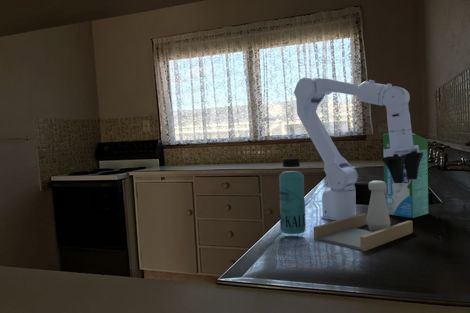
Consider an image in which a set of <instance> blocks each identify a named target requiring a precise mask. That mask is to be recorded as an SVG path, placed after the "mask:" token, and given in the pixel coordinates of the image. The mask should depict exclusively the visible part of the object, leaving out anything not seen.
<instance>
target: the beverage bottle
mask: <svg viewBox="0 0 470 313" xmlns="http://www.w3.org/2000/svg"><path fill="white" fill-rule="evenodd" d="M300 165H301V164H300V159H299V158H297V157H287V158H283V161H282V167H283V168H297V167H298V168H299V167H300ZM278 180H279V184H278V185H279V190H278V194H279V229H280V232H281V233H283V234H286V235H298V234H303V233H305V232H306V226H307V225H306V221H307V219H306V201H305V176H304V174H303V173H302V172H301V171H299V170H289V171H288V170H287V171H286V170H285V171H282V172H281V173H280V174H279V176H278Z"/></svg>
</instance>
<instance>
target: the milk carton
mask: <svg viewBox="0 0 470 313" xmlns="http://www.w3.org/2000/svg"><path fill="white" fill-rule="evenodd" d="M382 136H383V137H382V140H383V143H382V144H383V147H382V148H383V151H384V150H385V149H390V140H389V133H383V135H382ZM412 138H413V146H414V145H419V152H417V153H423V156H422V158H421V161H420V164H419V168H418V175H417V179H412V180H409V179H408V177H407V173H406V168H405V165H404V166H403V183H394V181H393V179H392V176H391V174H390V171H389V169H388V167H387V166H386V164H385V163H384V162H383V180H384V182H385V183H386V186H387V187H386V190H384V193H385V198H386V203H387V208H388V213H389V216H391V215H392V216H395V217H396V216H397V217H403V218H407V219H408V218H409V219H413V218H417V217H421V216H422V217H423V216H424V215H428V214H429V164H428V163H429V161H428V159H429V157H428V155H429V152H428V147H429V146H428V139H427V138H425V137H423V136H419V135H417V134H415V133H413V132H412ZM402 152H407V151H402ZM402 152H398V153H402ZM402 155H406V154H402ZM398 156H399V157H400V155H398ZM383 157H385V154H384V153H383Z"/></svg>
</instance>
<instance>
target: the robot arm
mask: <svg viewBox="0 0 470 313" xmlns="http://www.w3.org/2000/svg"><path fill="white" fill-rule="evenodd" d="M332 93H339V94H346V95H351V96H356V98H357V99H358V101H360V102H361V103H366V104H367V103H368V104H372V105H375V106H376V105H377V106H382V107H383V106H385V108H386V120H387V128H388V134H389V140H390V149H385V150H384V149H383V155H384V154H385V157H384V156H382V157H381V159H382V162H383V164H384V163H385V164H386V166H387V167H388V169H389V171H390V174H391V176H392V179H393V181H394V183H403V166H404V165H405V168H406V173H407V177H408V179H409V180H412V179H417V175H418V168H419V164H420V161H421V158H422V156H423V153H417V152H419V145H414V146H413V138H412V133H413V129H412V123H411V114H410V109H409V108H410V107H409V102H410V99H411V96H410V93H409V91H408V90H407V89H405V88H403V87H400V86H398V85H397V86H396V85H393V84H392V83H387V84H383V83H376V80H372V79H369V80H368V81H366V80H365V81H363V82H361V83H360V84H355V83H350V82H347V81H346V82H345V81H340V80H335V79H331V78H321V77H312V78H311V77H302V78H300V79H299V80H298V81H297V83H296V86H295V88H294V91H293V94H294V96H295V102H296V103H295V104H296V114H297V116H298V118H299V120H300V122H301V123H302V125H303V128H305V131H306V132H307V135H308V136H309V138H310V140H311V142H312V144H313V145H314V146H315V149H316V150H317V152H318V154H319V156H320V158H321V159H322V162H323V163H324V167H323V171H324V172H325V176H326V183H327V184H328V186H329V188H328V187H327V188H325V189H324V190H323V192H322V195H321V197H322V198H321V202H322V203H321V204H322V205H321V211H322V215H321V216H320V218H321V219H324V220H325V219H326V220H331V221H337V220H341V219H345V218H348V217H352V216H356V215H357V204H356V202H357V201H356V200H357V199H356V186H355V184H356V183H357V181H358V179H359V174H358V172H357V169H356V168H355V167H353V166H352V165H351V164H350V163H349V161H348V160H347V159H346V158H345V157H343V156H342V155H341V153H340V152H339V150H338V148H337V146H336V145H335V143H334V142H333V140H332V137H331V136H330V134H329V133H328V131H327V128H325V126H324V124H323V122H322V120H321V119H320V117H319V115H318V113H317V110H318V107H319V105H320V104H321V102H322V100H323V99H324V98H325V96H326V95H327V96H328V95H331V94H332ZM402 151H407V152H402ZM398 152H402V153H398ZM402 154H406V155H402ZM398 155H400V157H399V156H398Z"/></svg>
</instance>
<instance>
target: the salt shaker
mask: <svg viewBox="0 0 470 313" xmlns="http://www.w3.org/2000/svg"><path fill="white" fill-rule="evenodd" d="M386 187H387V186H386V183H385V182H384V181H383V180H372V181H369V182H368V190H369V191H370V198H369V204H368V209H367V214H366V225H367V227H368V229H369V231H372V232H376V231H379V230H382V229H385V228H387V227H390V226H391V219H390V215H389V213H388V208H387V203H386V198H385V193H384V190H386Z"/></svg>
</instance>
